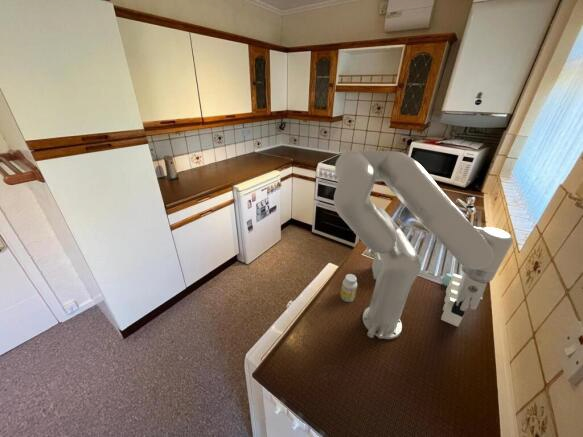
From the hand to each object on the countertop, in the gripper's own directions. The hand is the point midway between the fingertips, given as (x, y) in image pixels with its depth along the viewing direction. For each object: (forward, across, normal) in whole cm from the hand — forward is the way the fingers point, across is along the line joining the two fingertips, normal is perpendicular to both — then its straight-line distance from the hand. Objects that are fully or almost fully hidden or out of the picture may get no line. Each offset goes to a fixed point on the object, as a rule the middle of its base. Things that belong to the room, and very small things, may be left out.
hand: (456, 313), depth 76 cm
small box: (+7, +12, +28) cm, 31 cm away
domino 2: (+7, +17, +1) cm, 19 cm away
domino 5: (+7, +2, 0) cm, 7 cm away
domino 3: (+7, +12, 0) cm, 14 cm away
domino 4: (+7, +7, 0) cm, 10 cm away
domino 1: (+5, +22, -4) cm, 23 cm away
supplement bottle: (+7, -8, +33) cm, 35 cm away
